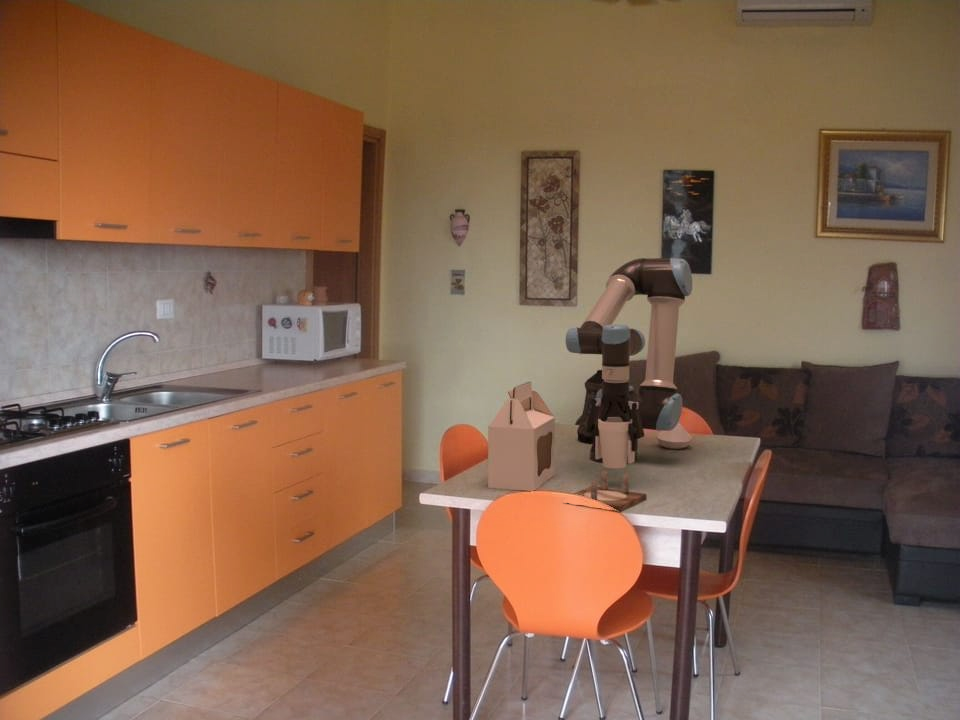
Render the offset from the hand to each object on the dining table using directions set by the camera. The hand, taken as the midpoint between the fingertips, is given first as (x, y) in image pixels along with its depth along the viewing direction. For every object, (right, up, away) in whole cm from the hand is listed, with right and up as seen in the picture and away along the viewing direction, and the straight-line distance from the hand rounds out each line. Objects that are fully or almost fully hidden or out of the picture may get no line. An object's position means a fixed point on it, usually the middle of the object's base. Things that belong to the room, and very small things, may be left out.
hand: (614, 460), depth 263 cm
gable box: (-26, -7, +6) cm, 27 cm away
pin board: (-5, -9, -17) cm, 20 cm away
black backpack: (+6, -1, +69) cm, 70 cm away
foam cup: (0, -2, 0) cm, 2 cm away
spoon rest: (+29, -2, +63) cm, 70 cm away
